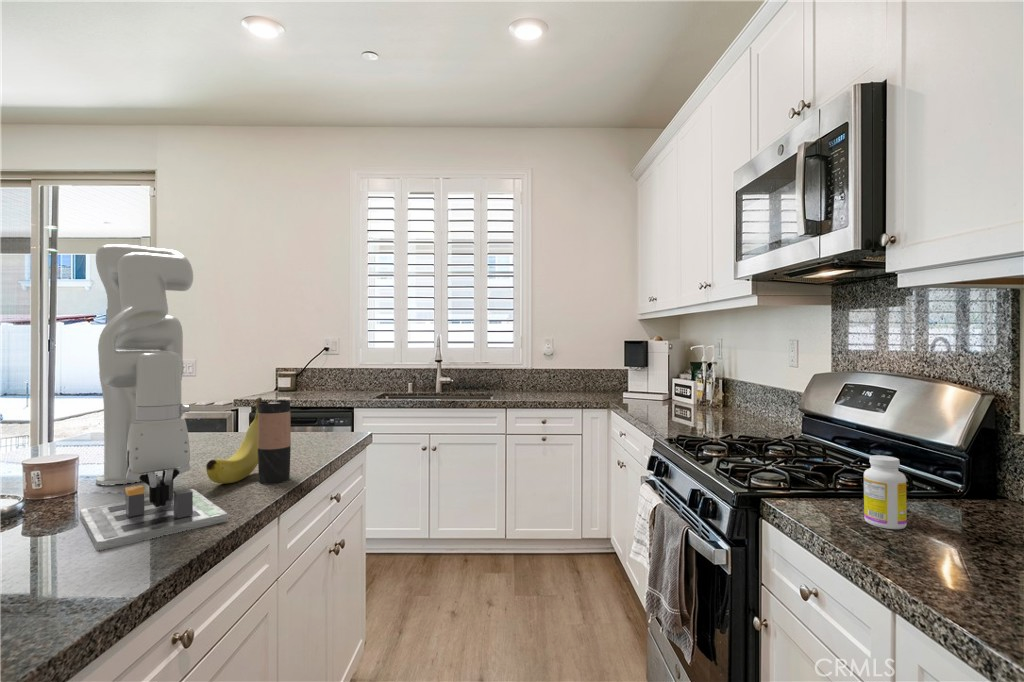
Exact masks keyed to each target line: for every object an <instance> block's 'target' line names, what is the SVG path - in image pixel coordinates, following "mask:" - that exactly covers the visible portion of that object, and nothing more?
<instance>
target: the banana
mask: <svg viewBox="0 0 1024 682" xmlns="http://www.w3.org/2000/svg"><path fill="white" fill-rule="evenodd" d="M259 402H263V400H262V397H260V396H259V397H257V398H256V399H255V403H254V405H253V406H254V407H255V416H254V419H253V421H251V423H250V424H249V426H248V428H247V430H246V433H245V435H244V438H243V440H242V442H241V444H240V445H239V447H238V449H237V451H235V453H234V454H232V455H231V456H230V457H229V458H226V459H221V458H220V459H217V458H214V459H211V460H209V461H207V463H206V464H205V465H206V468H205V470H206V474H207V477H208V478H209V480H211V481H212V482H214V483H217V484H233V483H237V482H239V481H241V480H243V479H245V478H246V477H248V476H249V475H250V474H252V472H253V471H254V470H255V469H256V468H257V466H258V403H259Z"/></svg>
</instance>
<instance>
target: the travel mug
mask: <svg viewBox="0 0 1024 682" xmlns="http://www.w3.org/2000/svg"><path fill="white" fill-rule="evenodd" d="M291 428H292V427H291V401H290V400H286V399H285V400H284V399H283V400H282V399H281V400H280V399H279V400H276V401H275V402H268V401H266V400H264V401H263V400H262V402H259V403H258V464H257V466H258V470H257V471H258V482H259V484H263V485H273V484H274V485H275V484H280V483H284V482H287V481H289V480H290V479H291V478H290V477H291V450H292V449H291V447H292V445H291V444H292V440H291V438H292V437H291V435H292V434H291V433H292V432H291Z"/></svg>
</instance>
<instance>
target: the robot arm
mask: <svg viewBox="0 0 1024 682" xmlns="http://www.w3.org/2000/svg"><path fill="white" fill-rule="evenodd" d="M95 263H96V264H95V265H96V270H97V273H98V276H99V278H100V280H101V282H102V285H103V287H104V289H105V293H106V301H107V302H106V303H107V305H106V306H107V311H106V312H107V317H106V319H107V320H106V322H107V324H106V325H105V326H104V327H103V329H102V331H101V333H100V335H99V338H98V345H97V351H98V369H99V373H98V375H99V381H100V386H101V391H102V393H101V394H102V400H103V474H101V475H99V476H98V477H97V478H95V482H96V483H95V484H97V485H99V484H104V485H103V486H107V485H106V484H123V485H128V484H127V483H131V484H135V482H137V483H141V482H143V483H144V484H146V485H147V486H148V487H149V488H148V489H149V495H148V497H149V500H150V503H153V505H154V506H155V507H159V506H160V505H161V506H166V500H169V485H170V484H171V482H172V481H173V482H174V480H175V479H176V477H178V476H179V475H181V474H184V473H187V472H189V471H191V465H190V461H191V460H190V459H191V451H190V449H191V448H190V438H189V432H188V431H189V430H188V427H187V422H186V418H185V417H183V415H184V414H185V413H189V412H190V411H191V410H190V406H189V405H185V404H183V403H182V380H183V375H184V360H183V359H184V357H183V353H184V350H183V349H184V348H183V347H184V344H183V343H184V335H183V334H184V333H183V328H182V327H183V326H182V323H181V321H180V320H179V318H177V317H176V316H173V315H168V314H169V306H168V299H167V293H166V291H173V292H185V291H189V290H190V288H191V287H192V285H193V281H194V271H193V268H192V264H191V262H190V261H189V259H188V258H187V257H186V255H184V254H182V253H181V252H179V251H177V250H174V249H168V248H160V247H159V248H158V247H147V246H140V245H134V244H133V245H132V244H116V243H115V244H114V243H113V244H105V245H104V244H103V245H101V246H100V247H98V249H97V250H96V253H95ZM158 472H161V476H162V477H161V481H160V483H157V479H156V477H157V476H158V475H157V474H158ZM156 475H157V476H156ZM140 481H141V482H140Z"/></svg>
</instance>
